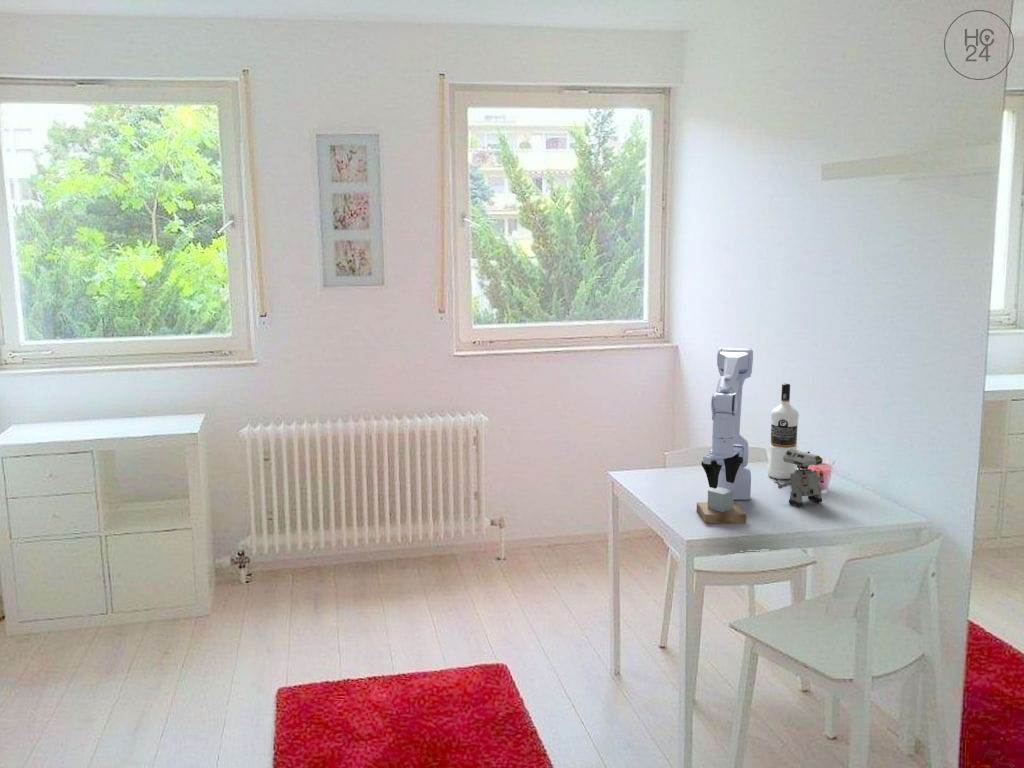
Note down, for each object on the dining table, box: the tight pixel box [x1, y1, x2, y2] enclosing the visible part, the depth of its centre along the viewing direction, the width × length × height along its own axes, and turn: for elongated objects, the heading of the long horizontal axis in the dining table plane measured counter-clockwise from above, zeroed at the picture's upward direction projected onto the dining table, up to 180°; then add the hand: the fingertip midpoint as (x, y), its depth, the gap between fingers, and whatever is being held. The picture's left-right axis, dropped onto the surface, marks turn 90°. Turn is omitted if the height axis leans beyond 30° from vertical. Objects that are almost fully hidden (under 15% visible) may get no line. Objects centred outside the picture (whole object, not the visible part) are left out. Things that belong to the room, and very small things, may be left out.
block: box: [707, 487, 735, 512], centre depth 254 cm, size 5×5×5 cm
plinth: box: [696, 501, 747, 525], centre depth 254 cm, size 11×11×2 cm
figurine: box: [774, 449, 825, 508], centre depth 266 cm, size 9×12×15 cm
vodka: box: [766, 383, 800, 480], centre depth 291 cm, size 9×9×30 cm
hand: (721, 484), depth 253 cm, fingers open, 7 cm apart
